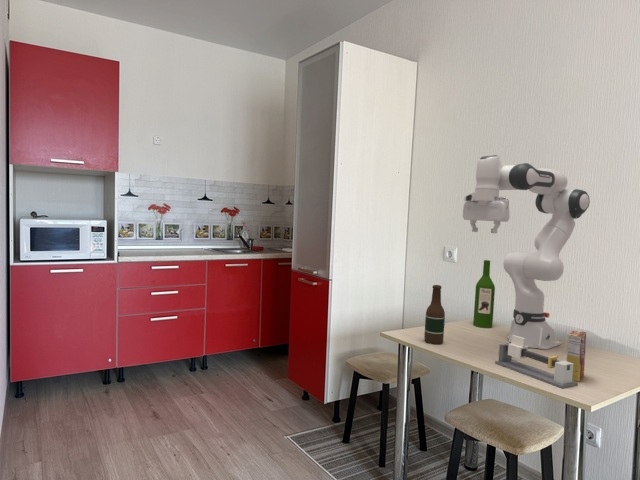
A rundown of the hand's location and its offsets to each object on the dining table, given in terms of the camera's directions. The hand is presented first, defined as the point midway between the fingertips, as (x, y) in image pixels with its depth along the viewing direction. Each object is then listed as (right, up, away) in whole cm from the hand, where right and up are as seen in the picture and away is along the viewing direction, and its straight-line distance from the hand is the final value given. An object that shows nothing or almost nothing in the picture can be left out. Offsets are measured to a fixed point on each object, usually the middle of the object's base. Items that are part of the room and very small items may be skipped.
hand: (484, 232), depth 179 cm
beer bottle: (-16, -46, +13) cm, 51 cm away
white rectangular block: (+6, -44, -15) cm, 47 cm away
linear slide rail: (+10, -49, -21) cm, 54 cm away
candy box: (+22, -50, -23) cm, 59 cm away
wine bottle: (+16, -46, +47) cm, 68 cm away
